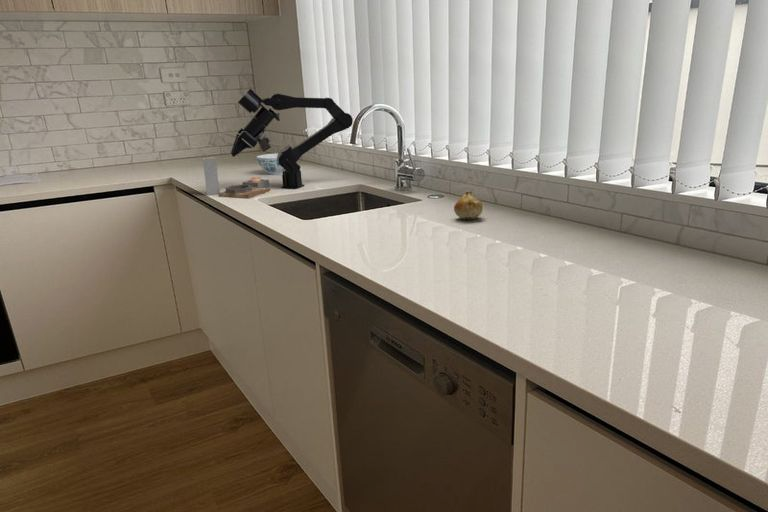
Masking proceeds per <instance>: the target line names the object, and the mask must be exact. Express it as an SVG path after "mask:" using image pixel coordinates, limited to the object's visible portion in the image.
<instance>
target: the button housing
mask: <svg viewBox="0 0 768 512" xmlns="http://www.w3.org/2000/svg"><path fill="white" fill-rule="evenodd" d="M242 185H250V186H251V187H257V188H269V187H270V179H264V178H263V179H262V178H261V181H260V182H251V181H250V179H249V180H246V181H243V182H242ZM268 186H269V187H268Z"/></svg>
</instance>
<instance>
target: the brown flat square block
mask: <svg viewBox="0 0 768 512" xmlns="http://www.w3.org/2000/svg"><path fill="white" fill-rule="evenodd" d="M224 189H225V191H221V192H220V193H219V195H218V197H220V198H221V197H222V198H237V199H251V198H255V197H257V195H258V196H261V195H264V194H267V193H270V192H269V191H271V188H270V187H265V188H257V187H251V186H250V185H243V184H237V185H229V186H225V188H224ZM266 192H267V193H266ZM263 193H264V194H263ZM260 194H261V195H260ZM254 196H255V197H254Z"/></svg>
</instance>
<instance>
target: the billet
mask: <svg viewBox="0 0 768 512" xmlns="http://www.w3.org/2000/svg"><path fill="white" fill-rule="evenodd" d="M202 164H203V171H204V181H205V187H206V195H207V196H216V195H218V196H219V193H221V192H220V191H221V190H220V183H219V175H218V165H217V159H216V156H211V157H203V158H202Z"/></svg>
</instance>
